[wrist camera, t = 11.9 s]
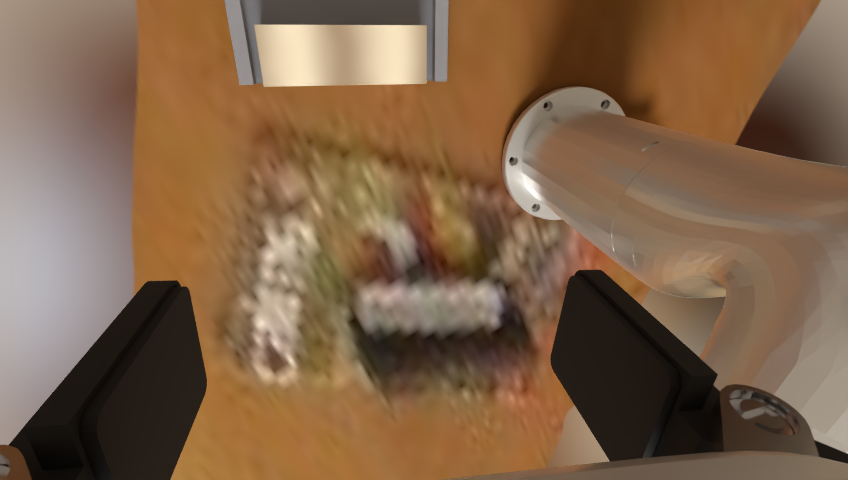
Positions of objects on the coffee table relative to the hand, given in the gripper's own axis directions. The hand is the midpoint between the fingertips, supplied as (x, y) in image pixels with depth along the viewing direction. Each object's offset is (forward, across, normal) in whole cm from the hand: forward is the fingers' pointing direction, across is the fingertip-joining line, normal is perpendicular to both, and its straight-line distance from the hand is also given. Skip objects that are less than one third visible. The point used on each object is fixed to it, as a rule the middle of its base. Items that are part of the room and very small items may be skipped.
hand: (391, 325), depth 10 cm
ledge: (+28, +1, -6) cm, 29 cm away
